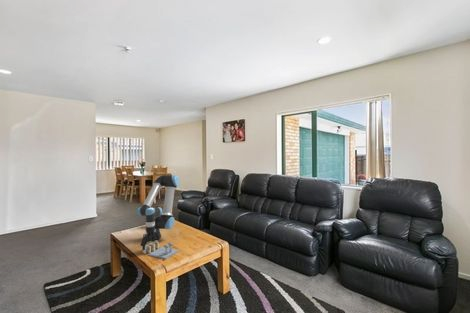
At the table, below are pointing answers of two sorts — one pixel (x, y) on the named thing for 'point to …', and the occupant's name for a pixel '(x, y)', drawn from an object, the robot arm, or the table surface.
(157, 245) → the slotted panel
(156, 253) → the boss board
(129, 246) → the table surface
